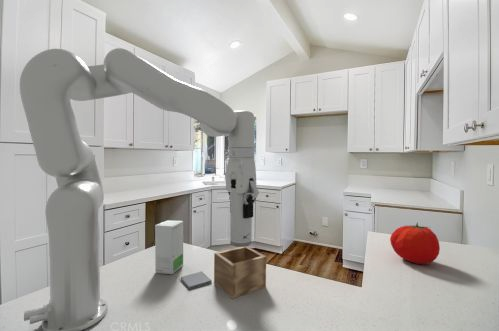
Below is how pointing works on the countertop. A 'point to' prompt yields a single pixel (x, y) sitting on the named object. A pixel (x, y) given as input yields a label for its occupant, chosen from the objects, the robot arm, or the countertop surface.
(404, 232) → the tomato
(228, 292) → the open wooden box
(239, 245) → the travel mug
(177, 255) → the skincare box
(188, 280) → the slate coaster
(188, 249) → the countertop surface
